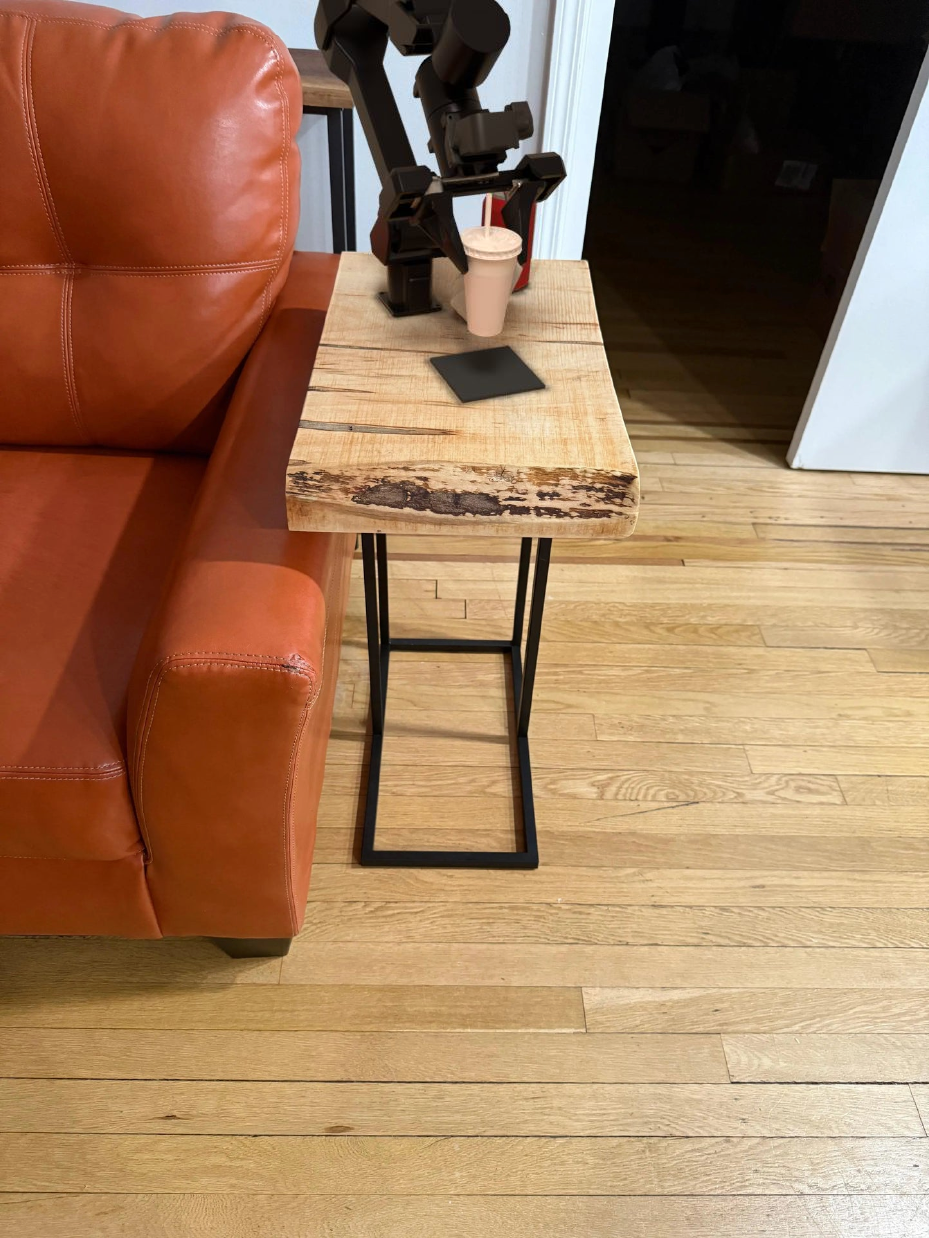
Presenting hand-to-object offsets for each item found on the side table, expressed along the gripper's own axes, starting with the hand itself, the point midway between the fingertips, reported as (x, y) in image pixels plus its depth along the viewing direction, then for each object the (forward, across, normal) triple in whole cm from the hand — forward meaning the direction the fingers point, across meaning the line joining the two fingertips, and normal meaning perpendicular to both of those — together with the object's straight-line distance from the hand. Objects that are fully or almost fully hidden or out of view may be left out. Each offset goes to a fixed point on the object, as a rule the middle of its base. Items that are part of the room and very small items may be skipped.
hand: (494, 268), depth 93 cm
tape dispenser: (-1, +7, +21) cm, 22 cm away
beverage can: (-7, +14, +27) cm, 31 cm away
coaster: (+8, +1, +11) cm, 14 cm away
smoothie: (+4, 0, +6) cm, 7 cm away
